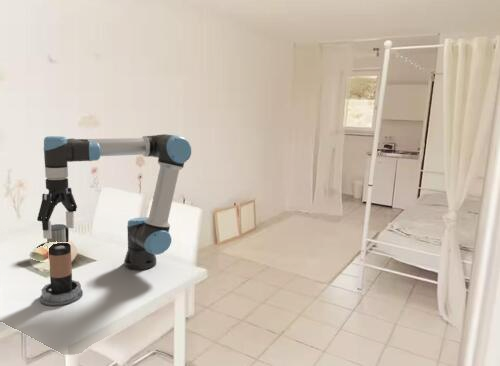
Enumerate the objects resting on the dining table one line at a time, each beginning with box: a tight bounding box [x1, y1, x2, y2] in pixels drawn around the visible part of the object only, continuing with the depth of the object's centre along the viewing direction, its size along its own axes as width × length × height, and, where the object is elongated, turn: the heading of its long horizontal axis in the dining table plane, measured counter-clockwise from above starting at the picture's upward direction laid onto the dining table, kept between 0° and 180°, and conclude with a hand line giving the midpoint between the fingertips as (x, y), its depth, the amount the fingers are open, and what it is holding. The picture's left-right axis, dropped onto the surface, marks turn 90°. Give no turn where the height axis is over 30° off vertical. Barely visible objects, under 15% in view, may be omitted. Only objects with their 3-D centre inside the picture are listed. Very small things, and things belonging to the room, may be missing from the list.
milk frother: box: [36, 223, 70, 248], centre depth 191 cm, size 14×16×15 cm
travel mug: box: [48, 243, 73, 294], centre depth 146 cm, size 8×8×20 cm
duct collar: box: [39, 279, 84, 307], centre depth 148 cm, size 15×15×4 cm
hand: (59, 232), depth 144 cm, fingers open, 13 cm apart
